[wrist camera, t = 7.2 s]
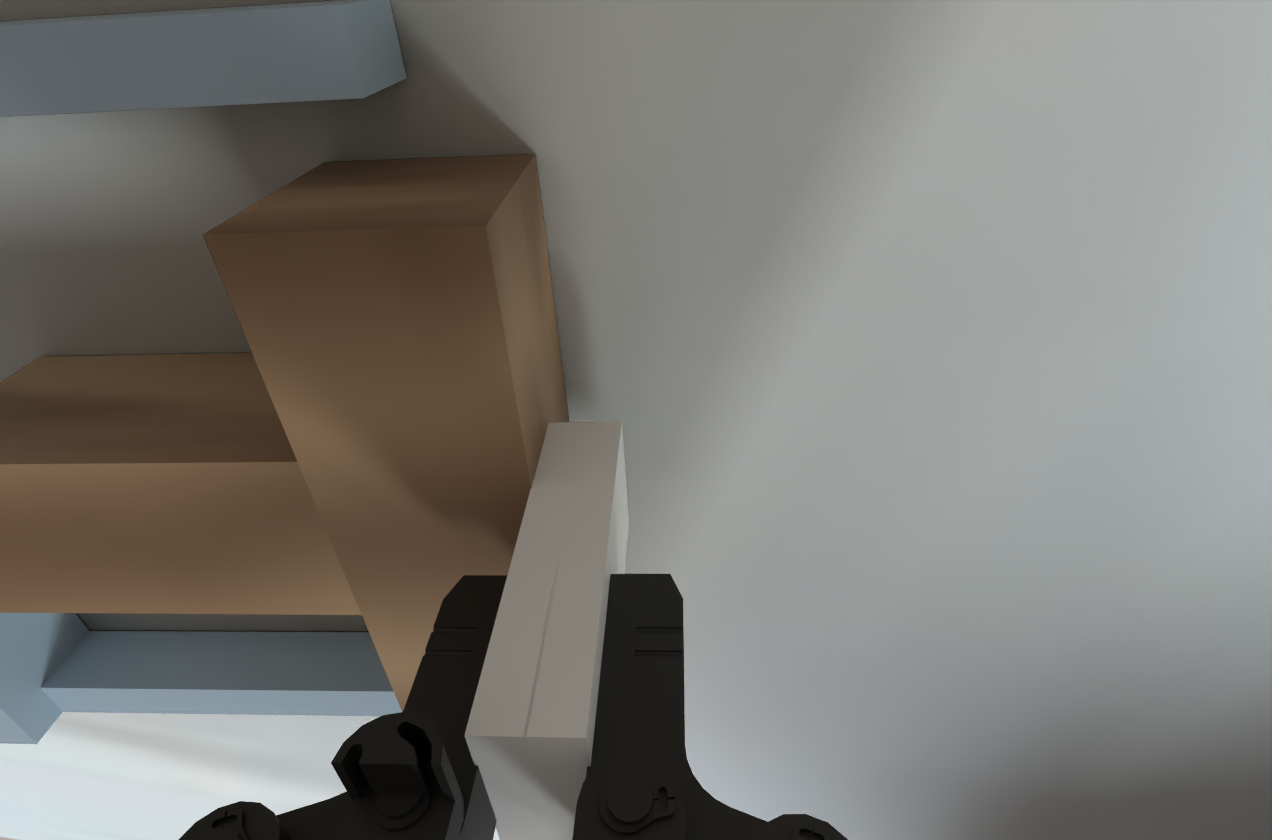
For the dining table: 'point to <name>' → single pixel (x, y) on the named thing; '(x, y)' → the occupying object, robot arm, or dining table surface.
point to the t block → (307, 417)
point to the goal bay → (177, 78)
